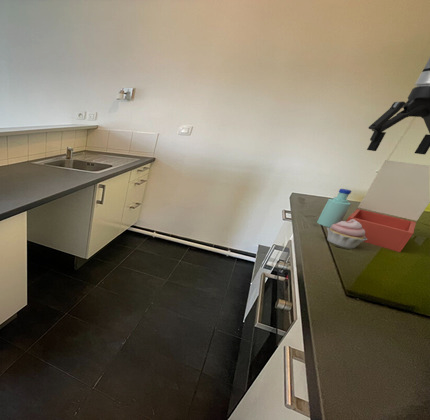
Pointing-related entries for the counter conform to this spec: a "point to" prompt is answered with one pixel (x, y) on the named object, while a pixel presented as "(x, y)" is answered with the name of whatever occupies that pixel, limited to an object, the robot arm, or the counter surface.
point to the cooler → (384, 229)
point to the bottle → (335, 209)
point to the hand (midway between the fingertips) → (394, 152)
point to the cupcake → (346, 234)
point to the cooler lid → (399, 190)
